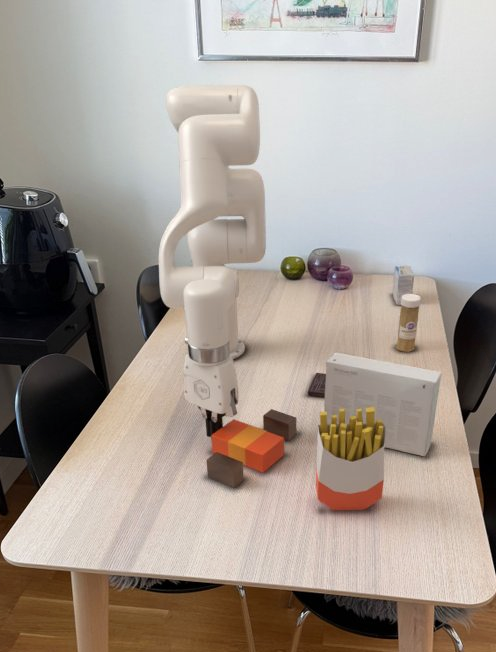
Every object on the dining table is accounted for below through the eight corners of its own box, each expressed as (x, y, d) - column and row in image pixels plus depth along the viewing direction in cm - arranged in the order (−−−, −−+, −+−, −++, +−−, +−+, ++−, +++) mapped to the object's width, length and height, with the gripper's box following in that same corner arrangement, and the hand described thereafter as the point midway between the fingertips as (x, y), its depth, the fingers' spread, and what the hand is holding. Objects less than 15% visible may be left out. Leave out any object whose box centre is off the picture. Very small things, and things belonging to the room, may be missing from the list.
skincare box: (432, 443, 131) (443, 371, 122) (425, 457, 127) (436, 384, 118) (331, 419, 138) (334, 350, 129) (321, 433, 134) (324, 362, 125)
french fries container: (380, 510, 114) (390, 421, 104) (317, 512, 114) (320, 423, 104) (376, 494, 118) (385, 406, 108) (315, 495, 118) (318, 408, 107)
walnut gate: (207, 477, 122) (206, 459, 120) (271, 425, 137) (271, 408, 134) (234, 488, 120) (233, 470, 117) (296, 434, 134) (296, 417, 132)
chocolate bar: (316, 372, 153) (395, 381, 149) (316, 376, 153) (394, 385, 150) (307, 391, 146) (390, 401, 142) (307, 395, 146) (390, 405, 142)
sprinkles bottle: (402, 353, 163) (408, 301, 155) (392, 346, 166) (397, 294, 159) (418, 350, 164) (424, 298, 157) (408, 343, 168) (414, 291, 160)
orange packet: (212, 452, 129) (211, 435, 127) (234, 435, 134) (233, 418, 131) (263, 473, 123) (262, 455, 121) (284, 455, 128) (284, 437, 126)
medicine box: (411, 305, 187) (414, 275, 183) (395, 305, 188) (398, 275, 183) (407, 294, 194) (410, 265, 189) (391, 294, 194) (394, 265, 189)
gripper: (164, 347, 122) (173, 431, 132) (229, 368, 115) (233, 455, 125) (190, 332, 127) (197, 415, 137) (254, 352, 120) (256, 437, 130)
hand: (214, 434), depth 131 cm, fingers closed
